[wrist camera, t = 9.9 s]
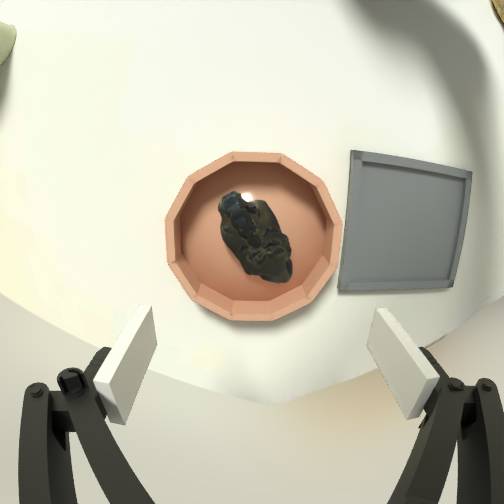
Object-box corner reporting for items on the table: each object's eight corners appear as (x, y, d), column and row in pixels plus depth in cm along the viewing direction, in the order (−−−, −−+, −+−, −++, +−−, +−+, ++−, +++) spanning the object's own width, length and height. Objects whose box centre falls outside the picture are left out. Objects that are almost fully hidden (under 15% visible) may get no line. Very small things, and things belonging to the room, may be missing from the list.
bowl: (172, 153, 34) (163, 152, 30) (336, 158, 34) (347, 158, 30) (178, 302, 40) (172, 317, 36) (322, 305, 40) (329, 320, 37)
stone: (261, 291, 39) (263, 312, 34) (202, 207, 35) (196, 217, 30) (305, 265, 38) (315, 282, 33) (250, 176, 34) (252, 181, 29)
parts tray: (350, 150, 34) (353, 150, 33) (467, 171, 34) (472, 172, 33) (337, 287, 40) (339, 290, 38) (448, 284, 40) (452, 287, 39)
